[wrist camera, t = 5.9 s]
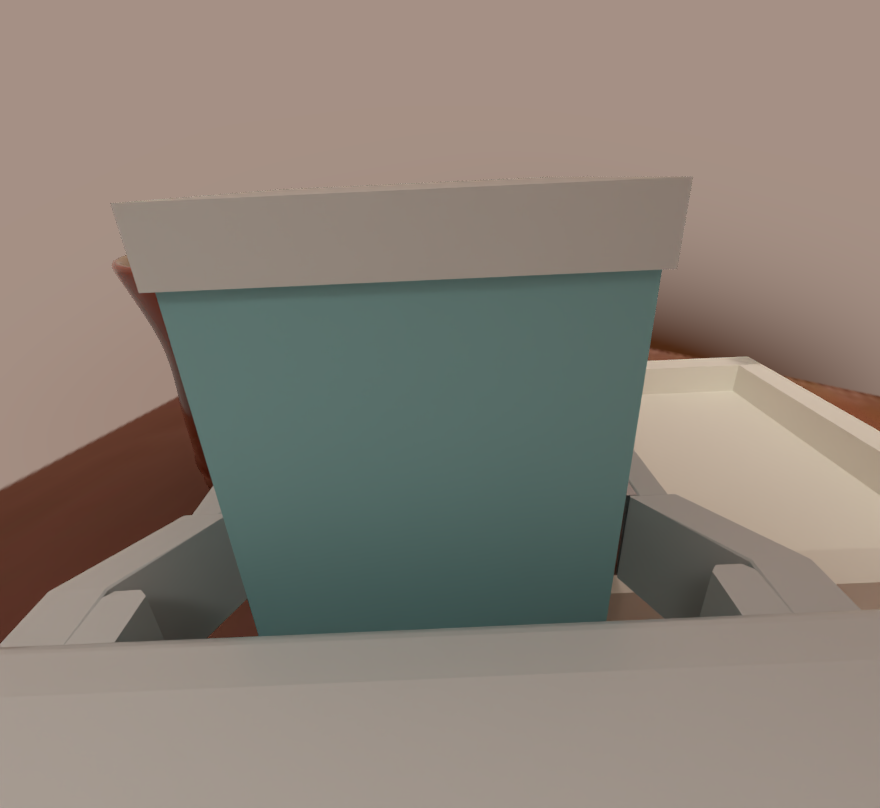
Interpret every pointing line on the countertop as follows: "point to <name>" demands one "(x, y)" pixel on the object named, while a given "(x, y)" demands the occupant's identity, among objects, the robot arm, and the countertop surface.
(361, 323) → the tea tin
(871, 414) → the countertop surface
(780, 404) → the tray
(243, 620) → the countertop surface
